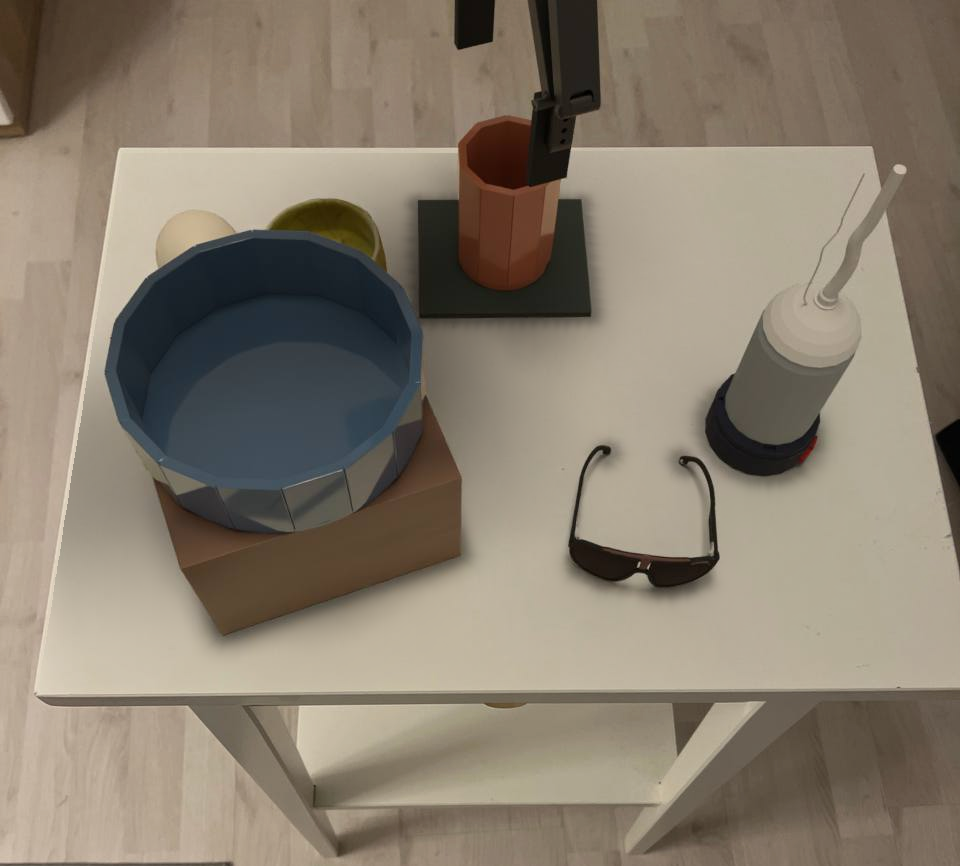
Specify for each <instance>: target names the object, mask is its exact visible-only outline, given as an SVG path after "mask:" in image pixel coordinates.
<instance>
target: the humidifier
mask: <svg viewBox="0 0 960 866" xmlns="http://www.w3.org/2000/svg"><path fill="white" fill-rule="evenodd" d="M907 171H908V170H907V167H906V166H905V165H903V164H900V163H898V164H897V163H896V164H895V165H894V166H893V167H892V170H891V172H890V173H889V175H888V177H887V178H886V181H885V182H884V184H883V186H882V188H881V189H880V191H879V193H878V194H877V196H876V198H875V199H874V201H873V203H872V205H871V207H870V208H869V211H868V212H867V213H866V215H865V217H864V218H863V219H862V221H861V222H860V224H859V225H858V226H857V227H856V228H855V230H853V232H852V233H851V234H850V236H849V238H848V241H847V243H846V247H845V252H844V258H843V260H842V262H841V264H840V266H839V268H838V269H837V271H836V272H835V274H834V275H833V276H832V278H831V279H830V280H829V281H828V283H823V282H815V281H813V280H814V278H815V276H816V274H817V272H818V270H819V267H820V265H821V262H822V258H823V254H824V251H825V248H826V247H827V246H828V245H829V244H830V242H831V241H832V240H833V239H834V238H835V237H836V236H837V235H838V234H839V232H840V230H841V229H842V226H843V222H844V218H845V216H846V215H847V212H848V211H849V208H850V206H851V204H852V202H853V200H854V198H855V196H856V194H857V192H858V190H859V188H860V186H861V183H862V182H863V179H864V177H865V176H866V172H863V174H862V176H861V178H860V180H859V182H858V183H857V186H856V188H855V190H854V192H853V193H852V196H851V198H850V201H849V202H848V204H847V207H846V209H845V210H844V212H843V215H842V217H841V220H840V224H839V226H838V228H837V230H836V232H835V233H834V234H833V235H832V236H831V237H830V239H828V241H827V242H826V243H825V244H824V245H823V246H822V248H821V251H820V255H819V259H818V262H817V265H816V267H815V270H814V271H813V273H812V276H811V278H810V280H809V282H804V283H803V282H802V283H797V284H793V285H791V286H789V287H787V288H784V289H783V290H781V291H780V292H778V293H777V294H775V296H773V297H772V298H771V300H770V301H769V302H768V303H767V304H766V307H765V308H764V309H763V310H762V312H761V314H760V317H759V319H758V320H757V323H756V326H755V328H754V330H753V332H752V335H751V337H750V339H749V342H748V344H747V346H746V348H745V351H744V353H743V355H742V357H741V360H740V362H739V364H738V366H737V368H736V370H735V372H734V373H732V374H730V376H728V378H727V379H726V380H725V381H724V382H723V383H722V384H721V386H720V387H719V388H718V389H717V391H716V392H715V396H714V398H713V400H712V402H711V405H710V407H709V410H708V412H707V415H706V417H705V430H704V431H705V435H706V439H707V441H708V444H709V446H710V448H711V449H712V450H713V452H714V453H715V455H716V456H717V457H718V458H719V460H721V461H722V462H724V463H725V464H726V465H728V466H729V467H730V468H732V469H734V470H735V471H738V472H741V473H744V474H747V475H751V476H759V477H768V476H774V475H780V474H782V473H785V472H786V471H788V470H790V469H792V468H794V467H795V466H796V465H797V464H798V463H799V464H803V462H804V461H805V460H806V459H807V458H808V457H809V456H810V455H811V453H812V451H813V450H814V448H815V446H816V443H817V441H818V437H819V436H818V435H817V432H818V430H819V426H820V423H821V411H822V409H823V408H824V406H825V404H827V401H828V400H829V398H830V396H831V395H832V394H833V392H834V390H835V389H836V387H837V385H838V384H839V382H840V380H841V379H842V377H843V375H845V372H846V371H847V369H848V368H849V366H850V364H851V363H852V361H853V359H854V358H855V356H856V352H857V350H858V348H859V346H860V344H861V340H862V322H861V319H862V318H861V316H860V313H859V312H858V309H857V307H856V305H855V304H854V302H853V301H852V300H851V298H849V297H848V296H847V295H848V294H846V293H844V292H843V291H842V290H843V289H844V287H846V285H847V284H848V282H849V281H850V279H851V278H852V276H853V274H854V273H855V271H856V269H857V268H858V265H859V262H860V258H861V254H862V248H863V245H864V242H865V241H866V240H867V239H868V237H870V235H871V234H872V233H873V232H874V230H875V229H876V228H877V226H878V225H879V223H880V221H881V220H882V218H883V216H884V215H885V212H886V210H887V208H888V206H889V204H890V203H891V201H892V199H893V197H894V196H895V195H896V192H897V190H898V189H899V187H900V185H901V183H902V181H903V180H904V177H905V175H906V173H907Z"/></svg>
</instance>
